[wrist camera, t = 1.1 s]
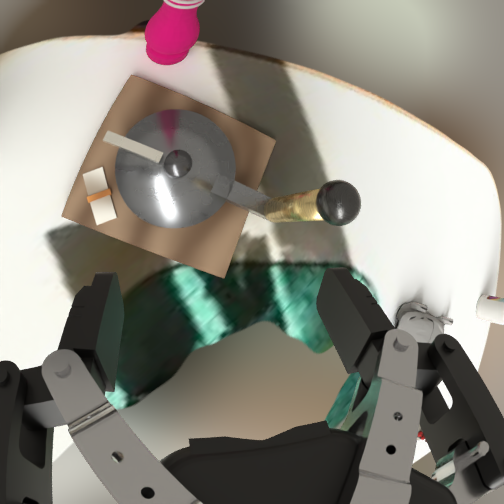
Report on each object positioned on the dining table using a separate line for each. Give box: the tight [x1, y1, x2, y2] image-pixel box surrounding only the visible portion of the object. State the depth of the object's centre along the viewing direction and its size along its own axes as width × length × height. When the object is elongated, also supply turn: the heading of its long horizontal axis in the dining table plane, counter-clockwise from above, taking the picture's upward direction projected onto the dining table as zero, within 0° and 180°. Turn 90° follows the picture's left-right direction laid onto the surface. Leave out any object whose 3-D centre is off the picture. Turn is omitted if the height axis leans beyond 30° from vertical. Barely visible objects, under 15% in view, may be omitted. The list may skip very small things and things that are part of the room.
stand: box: [62, 75, 276, 278], centre depth 35 cm, size 22×20×2 cm
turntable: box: [103, 109, 361, 228], centre depth 27 cm, size 24×14×17 cm, turn 68°
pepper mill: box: [145, 0, 205, 65], centre depth 25 cm, size 7×7×20 cm
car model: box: [396, 302, 453, 343], centre depth 55 cm, size 11×24×5 cm, turn 69°
